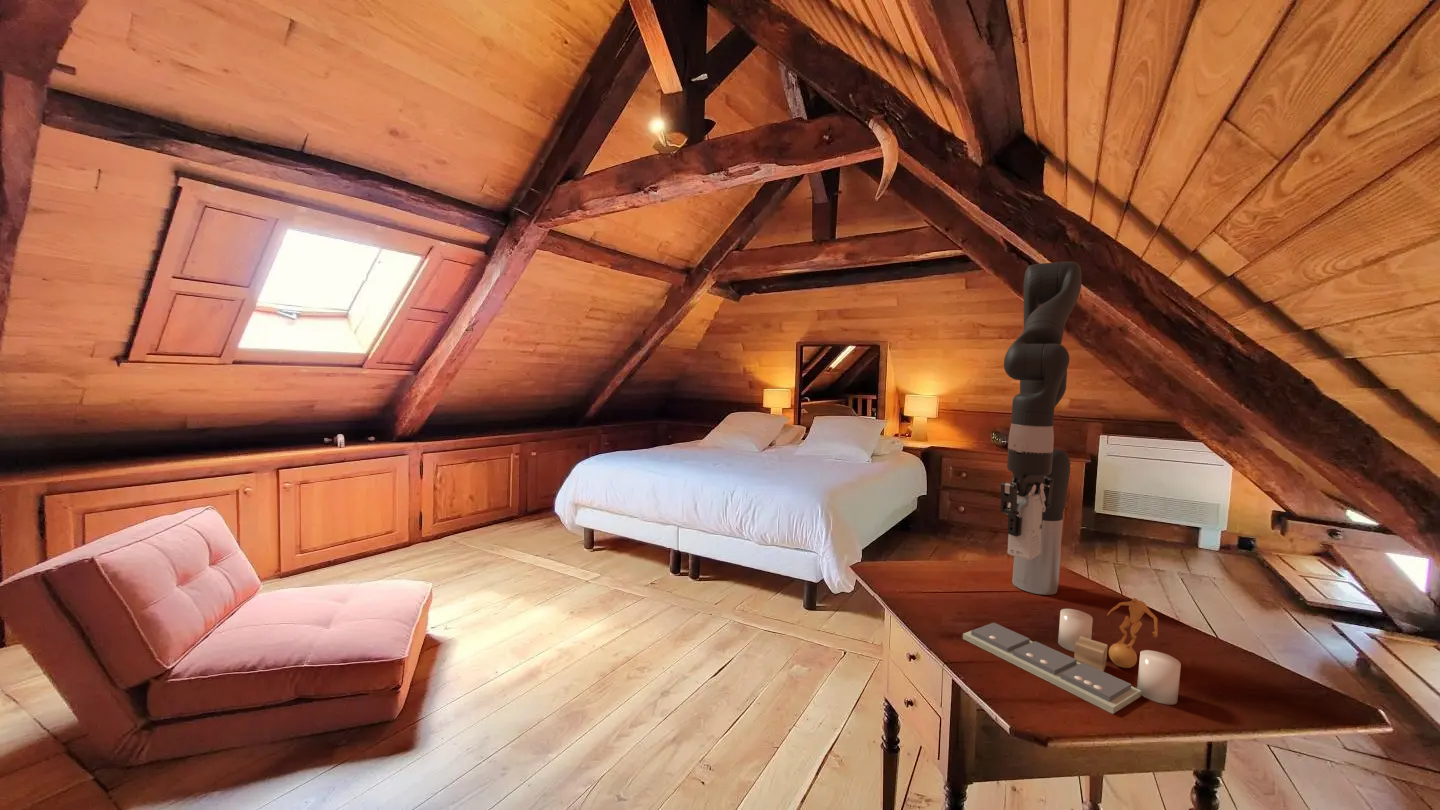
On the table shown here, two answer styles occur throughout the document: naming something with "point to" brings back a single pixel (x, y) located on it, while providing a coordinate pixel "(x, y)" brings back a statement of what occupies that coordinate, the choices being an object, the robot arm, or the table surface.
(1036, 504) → the skincare box
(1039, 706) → the table surface
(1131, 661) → the figurine
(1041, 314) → the robot arm
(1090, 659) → the beech block
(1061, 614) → the white rounded cylinder
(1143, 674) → the white pillar candle
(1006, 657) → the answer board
